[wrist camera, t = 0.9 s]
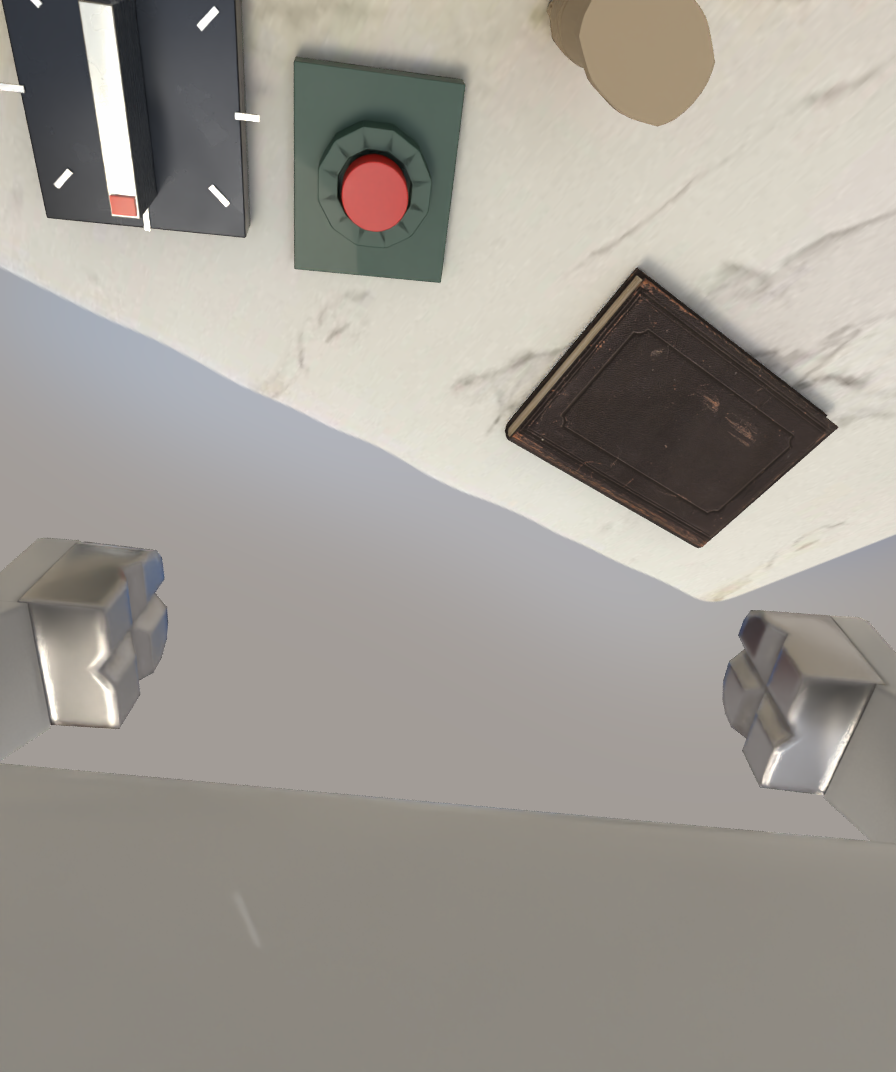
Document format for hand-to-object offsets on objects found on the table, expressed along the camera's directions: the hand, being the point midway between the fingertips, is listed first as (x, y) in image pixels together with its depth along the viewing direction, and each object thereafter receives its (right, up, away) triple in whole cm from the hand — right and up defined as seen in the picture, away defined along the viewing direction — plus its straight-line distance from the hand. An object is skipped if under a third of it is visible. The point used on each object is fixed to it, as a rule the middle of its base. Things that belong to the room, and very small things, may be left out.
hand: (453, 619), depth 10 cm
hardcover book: (+18, +11, +52) cm, 56 cm away
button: (-5, +23, +35) cm, 42 cm away
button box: (-5, +25, +38) cm, 45 cm away
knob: (-18, +26, +32) cm, 45 cm away
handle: (+7, +32, +33) cm, 47 cm away
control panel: (-18, +28, +34) cm, 47 cm away
